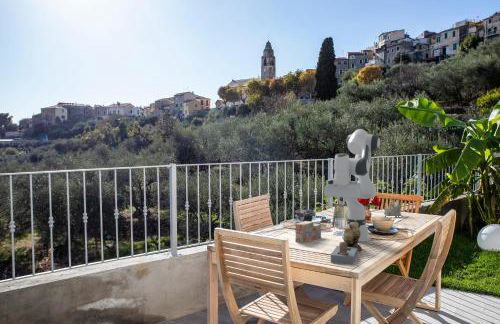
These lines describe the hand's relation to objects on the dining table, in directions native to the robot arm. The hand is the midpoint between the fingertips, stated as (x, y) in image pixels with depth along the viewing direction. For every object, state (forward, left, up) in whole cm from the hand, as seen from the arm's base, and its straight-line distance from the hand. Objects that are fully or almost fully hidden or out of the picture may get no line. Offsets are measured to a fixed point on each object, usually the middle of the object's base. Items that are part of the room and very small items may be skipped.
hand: (341, 204), depth 231 cm
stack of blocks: (-27, -26, -29) cm, 47 cm away
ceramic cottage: (-137, +23, -29) cm, 142 cm away
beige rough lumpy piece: (-11, +4, -29) cm, 31 cm away
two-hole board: (+9, +3, -29) cm, 30 cm away
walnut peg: (+14, +3, -29) cm, 32 cm away
